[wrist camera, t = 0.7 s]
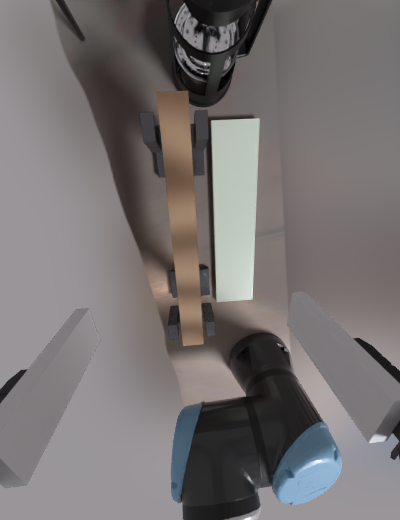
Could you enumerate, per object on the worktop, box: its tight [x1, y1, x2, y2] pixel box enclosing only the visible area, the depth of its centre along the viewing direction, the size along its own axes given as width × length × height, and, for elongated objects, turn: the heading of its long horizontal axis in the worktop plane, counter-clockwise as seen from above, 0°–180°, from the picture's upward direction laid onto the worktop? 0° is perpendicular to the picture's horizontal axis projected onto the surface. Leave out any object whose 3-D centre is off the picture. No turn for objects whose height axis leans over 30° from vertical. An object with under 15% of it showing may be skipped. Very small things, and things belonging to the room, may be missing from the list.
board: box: [210, 119, 259, 302], centre depth 37 cm, size 34×8×1 cm, turn 3°
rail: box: [156, 91, 204, 346], centre depth 24 cm, size 30×3×3 cm, turn 3°
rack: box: [140, 110, 215, 340], centre depth 30 cm, size 30×8×16 cm, turn 3°
